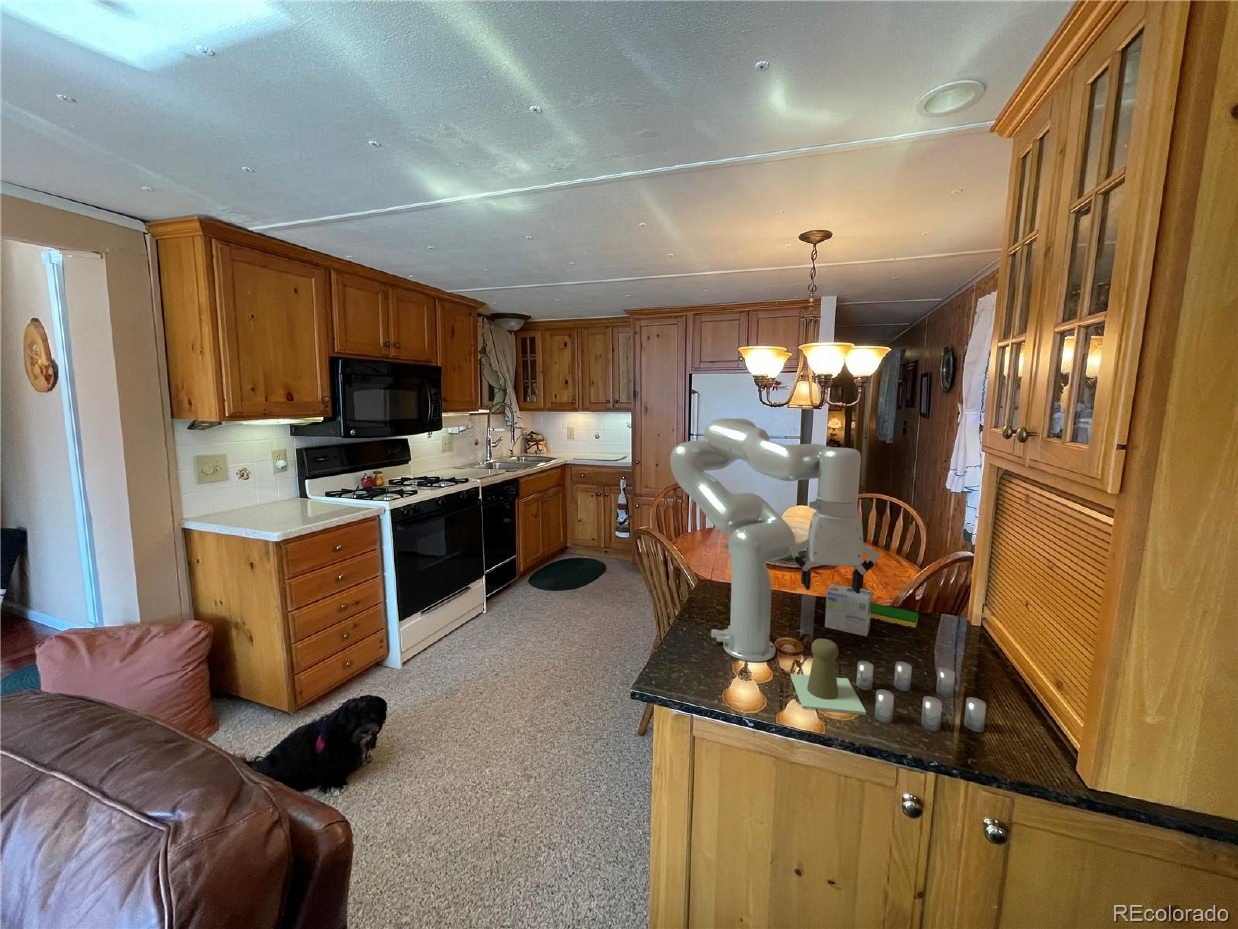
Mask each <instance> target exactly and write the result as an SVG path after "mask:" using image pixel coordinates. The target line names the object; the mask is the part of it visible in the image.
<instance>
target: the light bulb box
mask: <svg viewBox="0 0 1238 929" xmlns="http://www.w3.org/2000/svg"><path fill="white" fill-rule="evenodd" d="M825 595H826V596H825V618H824V628H827V629H832V630H837V631H839V632H840V631H841V632H845V633H850V634H853V635H859V636H862V637H867V636H868V634H869V631H870V626H871V624H870V623H871V618H870V609H871V603H872V590H868V589H863V588H860V594H857V593H855V591H854V590H853V589H852V586H851V587H850V586H845V585H844V586H843V585H840V584H839V585H838V584H834V583H830V585H829V586H828V588H827V590H826V594H825Z"/></svg>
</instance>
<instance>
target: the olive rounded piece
mask: <svg viewBox="0 0 1238 929" xmlns="http://www.w3.org/2000/svg"><path fill="white" fill-rule="evenodd" d="M839 652H840V651H839V648H838V645H837V644H836V643H835V642H834V641H833V640H830V639H826V638H816V639H815V640H814V641H813V642H812V643H811V653H812V654H813V658H812V662H811V667H810V673H809V675H810V676H809V681H808V686H807V690H808V691H809V693H811V694H812V695H813V696H815V697H818V698H821V699H826V700H831V699H835V698H837V696H838V688H837V678H838V677H837V668H836V666H837V664H836V660H837V658H838V656H839Z"/></svg>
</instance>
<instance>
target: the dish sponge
mask: <svg viewBox="0 0 1238 929" xmlns="http://www.w3.org/2000/svg"><path fill="white" fill-rule="evenodd" d="M873 618H875V619H874V620H877V619H880V620H879V621H882V620H883V621H882V622H886V621H887V623H891V624H895V623H897V624H896V625H899V624H900V626H905V627H908V626H911V627H910V628H913V627H914V628H917V623H918V619H919V613H918V612H916V611H915V612H914V611H910V610H906V609H901V608H897V607H891V606H887V605H883V604H877V603H875V602H874V603H873V602H871V609H870V619H873ZM914 628H913V629H914Z"/></svg>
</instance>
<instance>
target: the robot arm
mask: <svg viewBox="0 0 1238 929" xmlns="http://www.w3.org/2000/svg"><path fill="white" fill-rule="evenodd" d="M703 434H704V435H703V437H704V440H689V441H685V442H682V443H679V444H678V445H676V446H675V447H674V448H673V449H672V452H671V453H670V469H671V473H672V476H673V479H674V480H675V481H676V483H677V484H678V486H679V487H680V488H681V489H682V490H683V491H684V492H685V493H686V494H687V495H688V496H689V497H690V498H691V499H692V500H693V501H694V503H696V505H697V506H698V507H699V509H700V510H701V511H702V512H703V514H704V515H705V516H706V517H707V518H708V520H709V521H710V522H711V524H713V526H714V527H715V528H716V529H717V530H719V531H721V532H722V533H731V532H732V533H731V535H730V537H729V538H728V543H727V545H728V553H729V558H730V567H731V568H730V569H731V571H730V572H731V583H730V584H731V586H730V588H731V589H730V590H731V591H730V592H731V594H730V623H729V624H730V625H728V626H727V628H725V629H723V630H721V629H720V630H719V629H711V633H710V634H711V636H710V637H711V638H716V642H723V644H722V645H723V649H724V651H725V652H726V653H727V654H728V655H730V656H732V657H733V658H736V659H738V660H742V661H745V662H753V663H754V662H756V663H757V662H758V663H759V662H765V661H768V660H771V659H773V658H774V657H775V655H776V650H777V649H776V646H775V644H774V643H773V642H772V641H770V633H771V610H772V609H771V608H772V604H771V603H772V578H771V575H770V572H769V571H768V568H767V563H770V562H772V561H775V560H780V559H783V558H785V557H788V556H789V555H791V556H792V558H793V560H794V561H795V563H796V565H798V566H799V567H800V568H801V573H800V574H801V575H800V578H801V579H800V583H801V585H803V587H804V589H805V590H806V591H810V590H811V582H812V581H811V580H812V572H811V568H812V567H814V565H819V566H835V567H836V566H837V567H850V568H851V567H853V568H855V569H853V571H852V578H851V579H852V582H851V588H852V589H853V590H854V591H855V593H857V594H860V589H863V588H864V576H865V575H867V572H868V571H869V570H871V569H872V568H873V567H874V566H875V564H876V562H877V561H878V560H879V558H880V556H881V554H880V553H879V552H877V551H876V550H874V549H873V548H872V547H870V546H867V545H865V544H864V534H863V532H864V530H863V521H862V520H863V519H862V517H861V516H859V515H857V513H858V505H859V504H858V502H859V501H858V500H859V488H860V474H861V462H862V460H861V459H862V458H861V452H860V451H859V450H857V449H855V448H849V447H837V446H836V447H832V446H828V445H825V444H819V443H803V444H802V443H799V444H783V443H779V442H775V441H772V440H770V437H769V434H768V433H767V431H766V430H765V429H763V428H761V427H757V426H756V425H755V423H754V422H753V421H751V420H750V419H746V418H741V417H740V418H719V419H714V420H712V421H711V422H710V423H708V425H707V426H706V427H705V430H704V433H703ZM738 459H740V460H742V461H744V462H746V463H747V464H748V466H750V467H751V468H752V470H754V471H755V472H757V473H760V474H762V475H764V476H766V477H767V476H768V477H769V478H773V479H776V480H780V481H786V482H794V481H802V480H815V479H818V481H817V495H816V498H815V500H814V501H809V502H808V503H809V504H808V506H809V509H813V510H815V512H813V513H812V516H811V518H810V522H809V528H808V534H807V539H806V540H803V541H801V542H798V543H796V538H795V534H794V531H793V530H792V528H791V527H790V525H789V524H788V523H787V522H786V521H785V520H784V519H783V517H781V516H780V514H778V512H776V510H775V509H774V508H773V507H772V506H771V505H770V504H769V503H768V502H767V501H766V500H765V499H764V498H762V497H761V496H759V495H758V494H756V493H753V492H752V493H751V492H744V493H742V492H741V493H732V492H730V491H729V490H728V489H727V488H726V487H725V486H724V485H723V484H722V483H721V481H719V480H718V479H717V478H716V477H714V476H712V475H711V474H709V473H708V472H707V473H706V471H716V470H723V469H725V468H726V467H728V466H730V465H731V464H732V463H734V462H735V461H737V460H738ZM803 550H805V551H806V555H807V556H806V557H805V558H801V556H800V555H799V553H800V552H801V551H803ZM864 554H867V555H868V558H867V559H866V560H864Z"/></svg>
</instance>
